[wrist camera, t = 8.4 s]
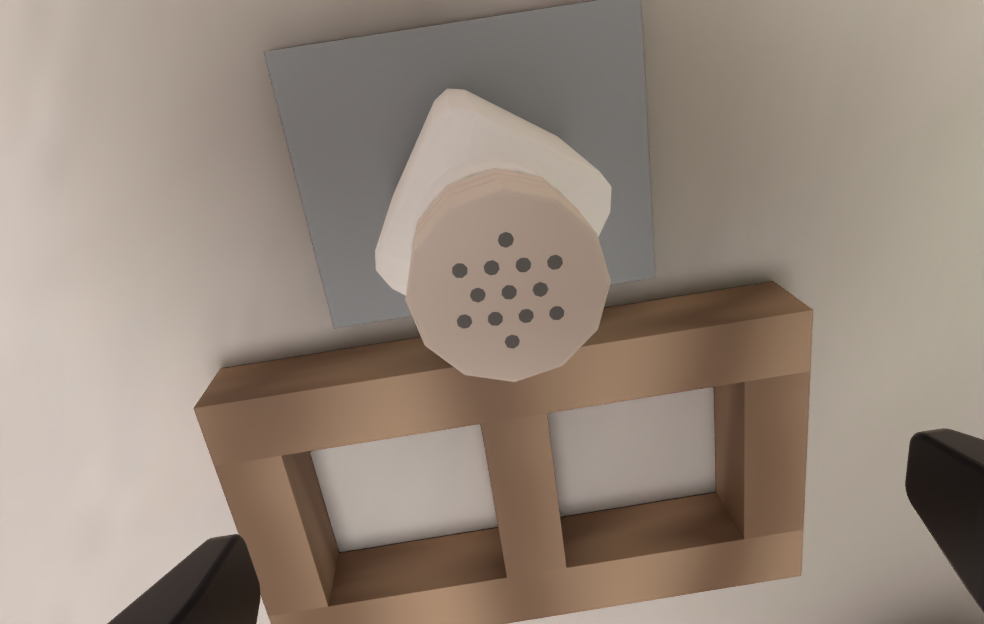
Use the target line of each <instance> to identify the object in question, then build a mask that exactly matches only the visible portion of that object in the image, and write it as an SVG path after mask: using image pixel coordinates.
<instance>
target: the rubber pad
mask: <svg viewBox="0 0 984 624" xmlns="http://www.w3.org/2000/svg"><path fill="white" fill-rule="evenodd" d="M264 55H265V59H266V63H267V67H268V71H269V75H270V79H271V83H272V86H273V90H274V94H275V98H276V102H277V106H278V110H279V114H280V118H281V122H282V126H283V130H284V134H285V138H286V142H287V145H288V149H289V153H290V157H291V161H292V165H293V169H294V173H295V177H296V181H297V185H298V189H299V193H300V197H301V200H302V204H303V208H304V212H305V216H306V220H307V224H308V228H309V232H310V236H311V240H312V244H313V248H314V252H315V256H316V259H317V263H318V267H319V271H320V275H321V279H322V283H323V287H324V291H325V295H326V299H327V303H328V307H329V311H330V315H331V318H332V322H333V326H334V328H340V327H346V326H353V325H359V324H365V323H372V322H378V321H384V320H391V319H397V318H403V317H410V316H412V315H411V312H410V310H409V308H408V305H407V303H406V301H405V297H406V296H405V295H403V294H401V293H399V292H397V291H395V290H393V289H392V288H391V287H390V286H389V285H388V284H387V283H386V281H385V280H384V279H383V278H382V277H381V276H380V275H379V273H378V272H377V271H376V262H375V249H376V246H377V243H378V240H379V237H380V234H381V231H382V228H383V225H384V221H385V218H386V215H387V212H388V209H389V206H390V203H391V200H392V197H393V194H394V192H395V189H396V187H397V185H398V183H399V180H400V178H401V176H402V173H403V171H404V169H405V167H406V164H407V162H408V160H409V157H410V155H411V153H412V150H413V148H414V146H415V144H416V141H417V139H418V137H419V134H420V132H421V130H422V128H423V125H424V123H425V121H426V118H427V116H428V114H429V112H430V109H431V107H432V105H433V102H434V100H435V99H436V98H438V97H439V96H440V95H441V94H442V93H443V92H444V91H445V90H446V89H447V88H448V89H465V90H467V91H469V92H471V93H473V94H475V95H477V96H478V97H480V98H482V99H484V100H486V101H488V102H490V103H492V104H494V105H496V106H498V107H500V108H502V109H504V110H506V111H508V112H510V113H512V114H514V115H516V116H518V117H520V118H522V119H524V120H526V121H528V122H530V123H532V124H534V125H536V126H538V127H540V128H542V129H544V130H546V131H548V132H550V133H552V134H554V135H556V136H558V137H559V138H560V139H561V140H562V141H564V142H565V143H566V144H567V145H569V146H570V147H571V148H572V149H573V150H575V151H576V152H577V153H578V154H579V155H581V156H582V157H583V158H584V159H585V160H587V161H588V162H589V163H590V164H591V165H593V166H594V167H595V168H596V169H597V170H599V171H600V173H601V174H602V175H603V176H604V178H605V179H606V180H607V182H608V183H609V184H610V185H611V187H612V190H611V207H610V214H609V216H608V218H607V220H606V222H605V224H604V226H603V228H602V231H601V233H600V235H599V237H598V238H599V242H600V245H601V249H602V252H603V256H604V259H605V262H606V266H607V269H608V273H609V276H610V280H611V283H610V285H613V284H619V283H625V282H632V281H638V280H644V279H651V278H655V262H654V243H653V224H652V204H651V185H650V166H649V147H648V127H647V108H646V89H645V70H644V50H643V31H642V12H641V0H596V1H589V2H583V3H576V4H570V5H563V6H557V7H550V8H544V9H537V10H531V11H524V12H518V13H511V14H505V15H498V16H492V17H485V18H479V19H472V20H466V21H459V22H453V23H446V24H440V25H433V26H427V27H420V28H414V29H407V30H401V31H394V32H388V33H381V34H375V35H368V36H362V37H355V38H349V39H342V40H336V41H329V42H323V43H316V44H310V45H303V46H297V47H290V48H284V49H277V50H271V51H264Z"/></svg>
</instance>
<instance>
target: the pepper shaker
mask: <svg viewBox="0 0 984 624" xmlns="http://www.w3.org/2000/svg"><path fill="white" fill-rule="evenodd" d="M611 190H612V187H611V185H610V184H609V183H608V182H607V180H606V179H605V178H604V176H603V175H602V174H601V173H600V171H599V170H597V169H596V168H595V167H594V166H593V165H591V164H590V163H589V162H588V161H587V160H585V159H584V158H583V157H582V156H581V155H579V154H578V153H577V152H576V151H575V150H573V149H572V148H571V147H570V146H569V145H567V144H566V143H565V142H564V141H562V140H561V139H560V138H559V137H558V136H556V135H554V134H552V133H550V132H548V131H546V130H544V129H542V128H540V127H538V126H536V125H534V124H532V123H530V122H528V121H526V120H524V119H522V118H520V117H518V116H516V115H514V114H512V113H510V112H508V111H506V110H504V109H502V108H500V107H498V106H496V105H494V104H492V103H490V102H488V101H486V100H484V99H482V98H480V97H478V96H477V95H475V94H473V93H471V92H469V91H467V90H465V89H448V88H447V89H446V90H445V91H444V92H443V93H442V94H441V95H440V96H439V97H438V98H436V99H435V100H434V102H433V105H432V107H431V109H430V112H429V114H428V116H427V118H426V121H425V123H424V125H423V128H422V130H421V132H420V134H419V137H418V139H417V141H416V144H415V146H414V148H413V150H412V153H411V155H410V157H409V160H408V162H407V164H406V167H405V169H404V171H403V173H402V176H401V178H400V180H399V183H398V185H397V187H396V189H395V192H394V194H393V197H392V200H391V203H390V206H389V209H388V212H387V215H386V218H385V221H384V225H383V228H382V231H381V234H380V237H379V240H378V243H377V246H376V249H375V262H376V271H377V272H378V273H379V275H380V276H381V277H382V278H383V279H384V280H385V281H386V283H387V284H388V285H389V286H390V287H391V288H392V289H393V290H395V291H397V292H399V293H401V294H403V295H405V296H406V297H405V301H406V303H407V305H408V308H409V310H410V312H411V315H412V317H413V319H414V322H415V324H416V326H417V329H418V331H419V333H420V336H421V338H422V340H423V343H424V345H425V346H426V347H427V348H429V349H430V350H431V351H433V352H434V353H436V354H437V355H438V356H440V357H441V358H442V359H444V360H445V361H446V362H448V363H449V364H451V365H452V366H453V367H455V368H456V369H457V370H459V371H460V372H461V373H463V374H464V375H468V376H475V377H482V378H489V379H497V380H504V381H511V382H516V381H519V380H522V379H525V378H528V377H531V376H534V375H537V374H540V373H543V372H546V371H549V370H552V369H555V368H558V367H561V366H563V365H564V364H565V363H566V362H567V361H568V360H569V359H570V358H571V357H572V356H573V355H574V354H575V353H576V351H577V350H578V349H579V348H580V347H581V346H582V345H583V344H584V343H585V342H586V341H587V340H588V339H589V338H590V337H591V336H592V335H593V334H594V333H595V332H596V331H597V330H598V327H599V324H600V320H601V316H602V313H603V309H604V305H605V302H606V298H607V294H608V291H609V287H610V283H611V280H610V276H609V273H608V269H607V266H606V262H605V259H604V256H603V252H602V249H601V245H600V242H599V238H598V237H599V235H600V233H601V231H602V228H603V226H604V224H605V222H606V220H607V218H608V216H609V214H610V207H611Z"/></svg>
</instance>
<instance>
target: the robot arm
mask: <svg viewBox="0 0 984 624" xmlns="http://www.w3.org/2000/svg"><path fill="white" fill-rule="evenodd" d="M905 486H906V492H907V496H908V498H909V500H910V502H911V504H912V506H913V507H914V509H915V510H916V512H917V513H918V515H919V516H920V518H921V519H922V521H923V523H924V524H925V526H926V527H927V529H928V530H929V532H930V533H931V535H932V536H933V538H934V539H935V541H936V542H937V544H938V546H939V547H940V549H941V550H942V552H943V553H944V555H945V556H946V558H947V559H948V561H949V562H950V564H951V565H952V567H953V569H954V570H955V572H956V573H957V575H958V576H959V578H960V579H961V581H962V582H963V584H964V585H965V587H966V588H967V590H968V591H969V593H970V594H971V595H972V597H973V598H974V600H975V601H976V603H977V604H978V605H979V607H980V608H981V609H982V611H983V612H984V440H982V439H979V438H976V437H973V436H970V435H967V434H964V433H960V432H957V431H954V430H951V429H936V430H929V431H923V432H918V433H916V434H915V435H913V437H912V438H911V440H910V445H909V454H908V463H907V472H906V481H905ZM259 604H260V584H259V580H258V577H257V574H256V571H255V568H254V565H253V562H252V559H251V556H250V553H249V550H248V547H247V544H246V542H245V540H244V539H243V537H242V536H240V535H238V534H234V535H228V536H221V537H214V538H210V539H208V540H207V541H205V542H204V543H203V544H202V545H200V546H199V547H198V548H197V549H196V550H195V551H193V552H192V553H191V554H190V555H189V556H187V557H186V558H185V559H184V560H183V561H181V562H180V563H179V564H178V565H177V566H175V567H174V568H173V569H172V570H171V571H170V572H168V573H167V574H166V575H165V576H164V577H162V578H161V579H160V580H159V581H158V582H156V583H155V584H154V585H153V586H152V587H150V588H149V589H148V590H147V591H146V592H145V593H143V594H142V595H141V596H140V597H139V598H137V599H136V600H135V601H134V602H133V603H131V604H130V605H129V606H128V607H127V608H125V609H124V610H123V611H122V612H121V613H120V614H118V615H117V616H116V617H115V618H114V619H112V620H111V621H110V622H109V623H108V624H256V622H257V616H258V610H259Z"/></svg>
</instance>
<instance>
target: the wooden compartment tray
mask: <svg viewBox="0 0 984 624" xmlns="http://www.w3.org/2000/svg"><path fill="white" fill-rule="evenodd" d="M812 323H813V310H812V309H811V308H810V307H808V306H807V305H805V304H804V303H803V302H801V301H800V300H799V299H797V298H796V297H794V296H793V295H792V294H790V293H789V292H788V291H786V290H785V289H783V288H782V287H781V286H779V285H778V284H777V283H775V282H774V281H772V282H766V283H760V284H753V285H747V286H741V287H735V288H728V289H722V290H716V291H709V292H703V293H697V294H690V295H684V296H678V297H671V298H665V299H659V300H652V301H646V302H640V303H633V304H627V305H621V306H614V307H608V308H604V309H603V313H602V316H601V320H600V324H599V327H598V330H597V331H596V332H595V333H594V334H593V335H592V336H591V337H590V338H589V339H588V340H587V341H586V342H585V343H584V344H583V345H582V346H581V347H580V348H579V349H578V350H577V351H576V353H575V354H574V355H573V356H572V357H571V358H570V359H569V360H568V361H567V362H566V363H565V364H564V365H563V366H561V367H558V368H555V369H552V370H549V371H546V372H543V373H540V374H537V375H534V376H531V377H528V378H525V379H522V380H519V381H516V382H511V381H504V380H497V379H489V378H482V377H475V376H468V375H464V374H463V373H461V372H460V371H459V370H457V369H456V368H455V367H453V366H452V365H451V364H449V363H448V362H446V361H445V360H444V359H442V358H441V357H440V356H438V355H437V354H436V353H434V352H433V351H431V350H430V349H429V348H427V347H426V346H425V345H424V343H423V340H422V338H421V337H418V338H412V339H406V340H399V341H393V342H387V343H380V344H374V345H368V346H362V347H355V348H349V349H343V350H336V351H330V352H324V353H317V354H311V355H305V356H298V357H292V358H286V359H279V360H273V361H267V362H260V363H254V364H248V365H241V366H235V367H229V368H222V369H220V370H219V372H218V373H217V374H216V376H215V377H214V379H213V380H212V382H211V383H210V385H209V386H208V388H207V389H206V391H205V392H204V394H203V395H202V397H201V398H200V400H199V401H198V403H197V404H196V405H195V407H194V411H195V414H196V417H197V419H198V422H199V425H200V428H201V431H202V433H203V436H204V439H205V442H206V444H207V447H208V450H209V453H210V456H211V458H212V461H213V464H214V467H215V469H216V472H217V475H218V478H219V481H220V483H221V486H222V489H223V492H224V494H225V497H226V500H227V503H228V506H229V508H230V511H231V514H232V517H233V519H234V522H235V525H236V528H237V531H238V533H239V535H240V536H242V537H243V539H244V540H245V542H246V544H247V547H248V550H249V553H250V556H251V559H252V562H253V565H254V568H255V571H256V574H257V577H258V580H259V584H260V594H261V597H262V600H263V603H264V605H265V608H266V611H267V614H268V617H269V619H270V622H271V624H507V623H513V622H519V621H525V620H531V619H537V618H543V617H550V616H556V615H562V614H568V613H574V612H580V611H587V610H593V609H599V608H605V607H611V606H617V605H623V604H630V603H636V602H642V601H648V600H654V599H660V598H667V597H673V596H679V595H685V594H691V593H697V592H704V591H710V590H716V589H722V588H728V587H734V586H740V585H747V584H753V583H759V582H765V581H771V580H777V579H784V578H790V577H796V576H801V570H802V548H803V525H804V503H805V480H806V458H807V435H808V413H809V390H810V368H811V346H812ZM708 387H714V406H715V463H716V493H710V494H704V495H698V496H692V497H685V498H679V499H673V500H667V501H660V502H654V503H648V504H642V505H636V506H629V507H623V508H617V509H611V510H605V511H598V512H592V513H586V514H580V515H574V516H567V517H561V518H560V513H559V505H558V497H557V490H556V482H555V474H554V466H553V458H552V451H551V443H550V435H549V427H548V419H547V413H552V412H558V411H564V410H570V409H577V408H583V407H589V406H595V405H602V404H608V403H614V402H621V401H627V400H633V399H639V398H646V397H652V396H658V395H664V394H671V393H677V392H683V391H689V390H696V389H702V388H708ZM476 424H481V430H482V435H483V441H484V447H485V453H486V458H487V464H488V470H489V476H490V482H491V487H492V493H493V499H494V505H495V510H496V516H497V522H498V528H493V529H487V530H480V531H474V532H468V533H462V534H456V535H449V536H443V537H437V538H431V539H425V540H418V541H412V542H406V543H400V544H394V545H387V546H381V547H375V548H369V549H362V550H356V551H350V552H344V553H339V552H338V548H337V545H336V541H335V538H334V534H333V531H332V528H331V524H330V521H329V517H328V514H327V510H326V507H325V504H324V500H323V497H322V493H321V490H320V487H319V483H318V480H317V476H316V473H315V469H314V466H313V463H312V459H311V456H310V452H309V451H313V450H320V449H326V448H332V447H338V446H345V445H351V444H357V443H364V442H370V441H376V440H382V439H389V438H395V437H401V436H407V435H414V434H420V433H426V432H433V431H439V430H445V429H451V428H458V427H464V426H470V425H476Z"/></svg>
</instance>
